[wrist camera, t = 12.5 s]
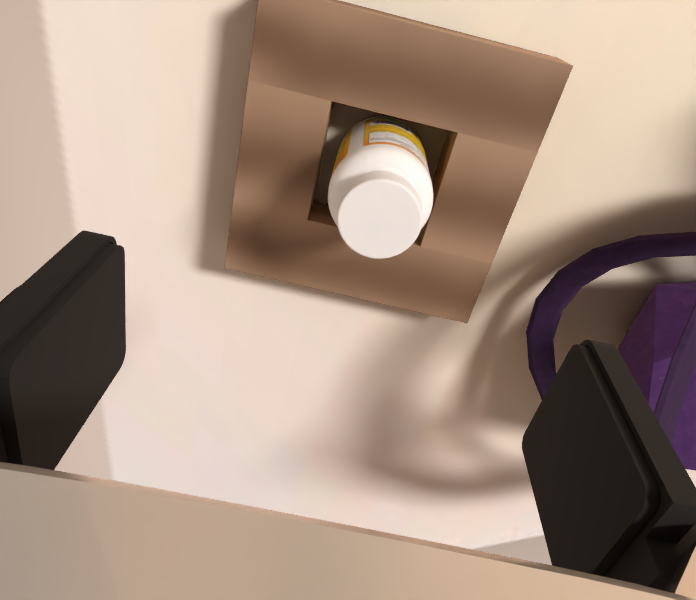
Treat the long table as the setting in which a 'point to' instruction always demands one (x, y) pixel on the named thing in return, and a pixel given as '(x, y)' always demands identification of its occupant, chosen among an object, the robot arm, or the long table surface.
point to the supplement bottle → (380, 187)
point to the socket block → (398, 101)
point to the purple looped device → (635, 333)
